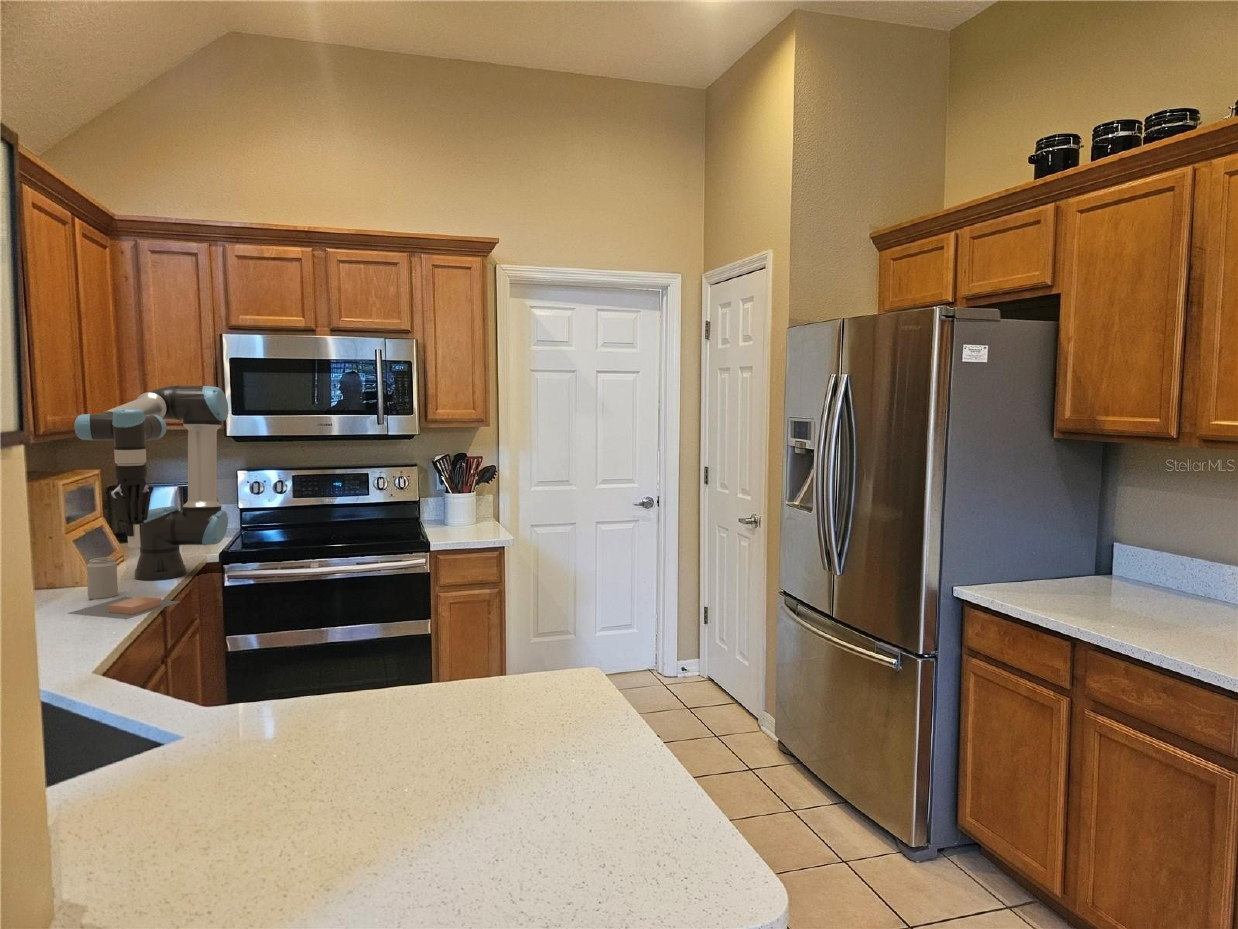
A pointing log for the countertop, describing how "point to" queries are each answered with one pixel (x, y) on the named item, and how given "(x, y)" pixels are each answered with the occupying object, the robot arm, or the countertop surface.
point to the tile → (134, 605)
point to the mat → (102, 611)
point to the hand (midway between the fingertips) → (134, 547)
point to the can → (102, 578)
